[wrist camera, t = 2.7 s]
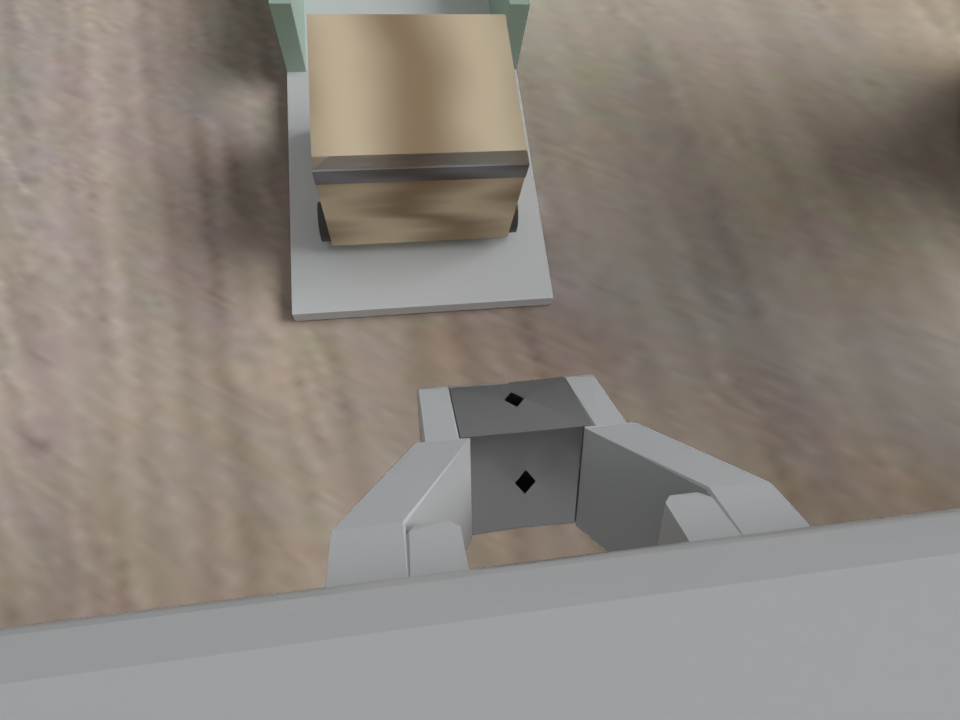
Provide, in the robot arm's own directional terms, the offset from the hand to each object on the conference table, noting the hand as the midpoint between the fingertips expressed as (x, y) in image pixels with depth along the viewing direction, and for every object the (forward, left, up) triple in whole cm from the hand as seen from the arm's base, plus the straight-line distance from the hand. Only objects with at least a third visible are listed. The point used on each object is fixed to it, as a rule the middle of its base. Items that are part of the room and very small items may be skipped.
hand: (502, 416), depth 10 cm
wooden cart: (0, -19, -22) cm, 29 cm away
